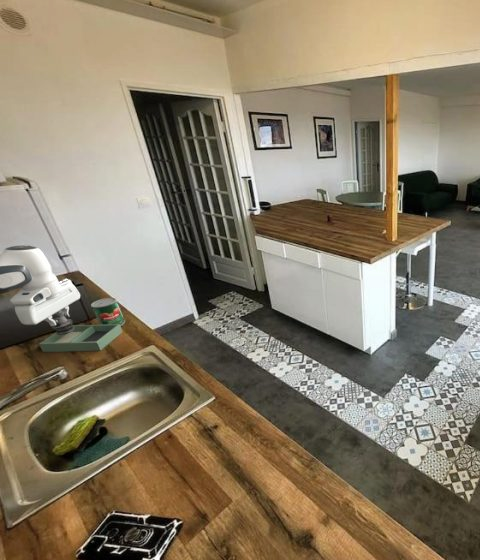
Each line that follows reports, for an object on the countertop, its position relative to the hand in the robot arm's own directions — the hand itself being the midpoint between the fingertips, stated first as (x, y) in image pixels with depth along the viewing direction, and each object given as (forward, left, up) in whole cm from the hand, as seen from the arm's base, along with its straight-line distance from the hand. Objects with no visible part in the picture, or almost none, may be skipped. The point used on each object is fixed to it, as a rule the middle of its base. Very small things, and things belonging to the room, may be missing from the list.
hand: (60, 321), depth 116 cm
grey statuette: (0, 0, -5) cm, 5 cm away
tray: (0, -5, -10) cm, 11 cm away
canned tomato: (+12, -7, -10) cm, 17 cm away
